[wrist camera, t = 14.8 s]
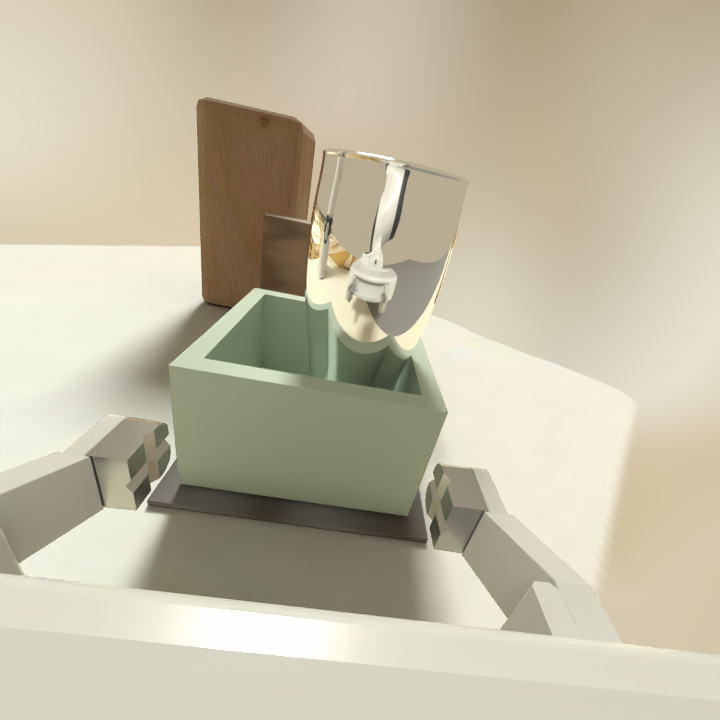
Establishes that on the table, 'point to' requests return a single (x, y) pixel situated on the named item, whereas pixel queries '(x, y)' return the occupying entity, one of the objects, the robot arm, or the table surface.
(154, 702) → the robot arm
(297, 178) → the wooden block
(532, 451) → the table surface
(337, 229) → the beer glass
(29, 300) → the table surface
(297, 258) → the box
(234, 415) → the sage green storage bin
